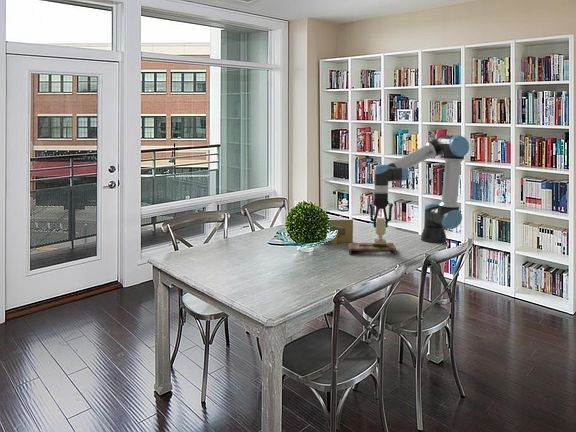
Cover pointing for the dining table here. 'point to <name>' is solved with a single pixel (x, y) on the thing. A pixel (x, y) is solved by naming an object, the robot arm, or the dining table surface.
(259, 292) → the dining table surface
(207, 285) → the dining table surface
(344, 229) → the cardboard box
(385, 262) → the dining table surface
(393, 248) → the keyhole plate
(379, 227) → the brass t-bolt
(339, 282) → the dining table surface
